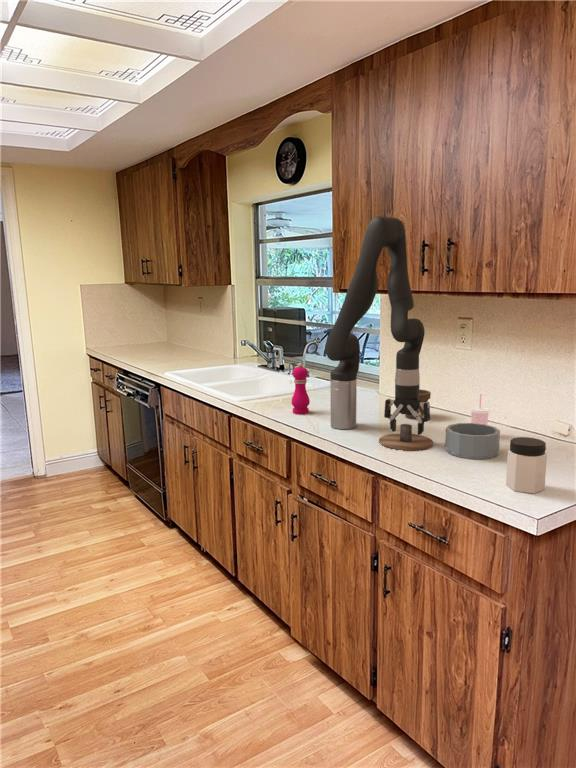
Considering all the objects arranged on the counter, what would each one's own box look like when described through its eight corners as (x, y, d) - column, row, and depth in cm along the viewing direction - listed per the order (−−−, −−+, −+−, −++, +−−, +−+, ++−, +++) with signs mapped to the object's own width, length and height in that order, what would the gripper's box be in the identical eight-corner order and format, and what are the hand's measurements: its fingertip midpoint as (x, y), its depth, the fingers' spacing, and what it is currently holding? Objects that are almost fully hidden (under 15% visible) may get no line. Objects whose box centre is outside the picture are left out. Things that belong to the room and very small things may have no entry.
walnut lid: (375, 437, 190) (375, 419, 189) (425, 436, 190) (426, 418, 189) (383, 452, 173) (383, 433, 172) (439, 451, 173) (439, 432, 172)
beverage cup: (489, 438, 186) (492, 396, 183) (470, 437, 187) (472, 395, 184) (486, 433, 192) (488, 392, 189) (468, 432, 193) (469, 392, 190)
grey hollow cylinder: (440, 444, 179) (441, 423, 178) (488, 444, 179) (489, 422, 178) (453, 459, 164) (454, 436, 163) (505, 459, 164) (506, 435, 163)
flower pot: (417, 412, 222) (418, 387, 221) (436, 418, 212) (437, 392, 210) (393, 415, 218) (393, 390, 216) (410, 422, 208) (411, 395, 206)
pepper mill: (299, 415, 220) (298, 364, 217) (288, 412, 226) (287, 362, 222) (313, 412, 224) (313, 363, 221) (302, 409, 230) (301, 361, 227)
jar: (529, 496, 136) (532, 448, 134) (500, 486, 143) (502, 440, 141) (550, 488, 141) (553, 441, 139) (520, 479, 148) (523, 434, 146)
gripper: (433, 382, 178) (432, 432, 180) (389, 379, 185) (389, 427, 188) (426, 386, 171) (425, 438, 174) (381, 383, 178) (381, 432, 181)
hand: (406, 432), depth 181 cm, fingers open, 8 cm apart
